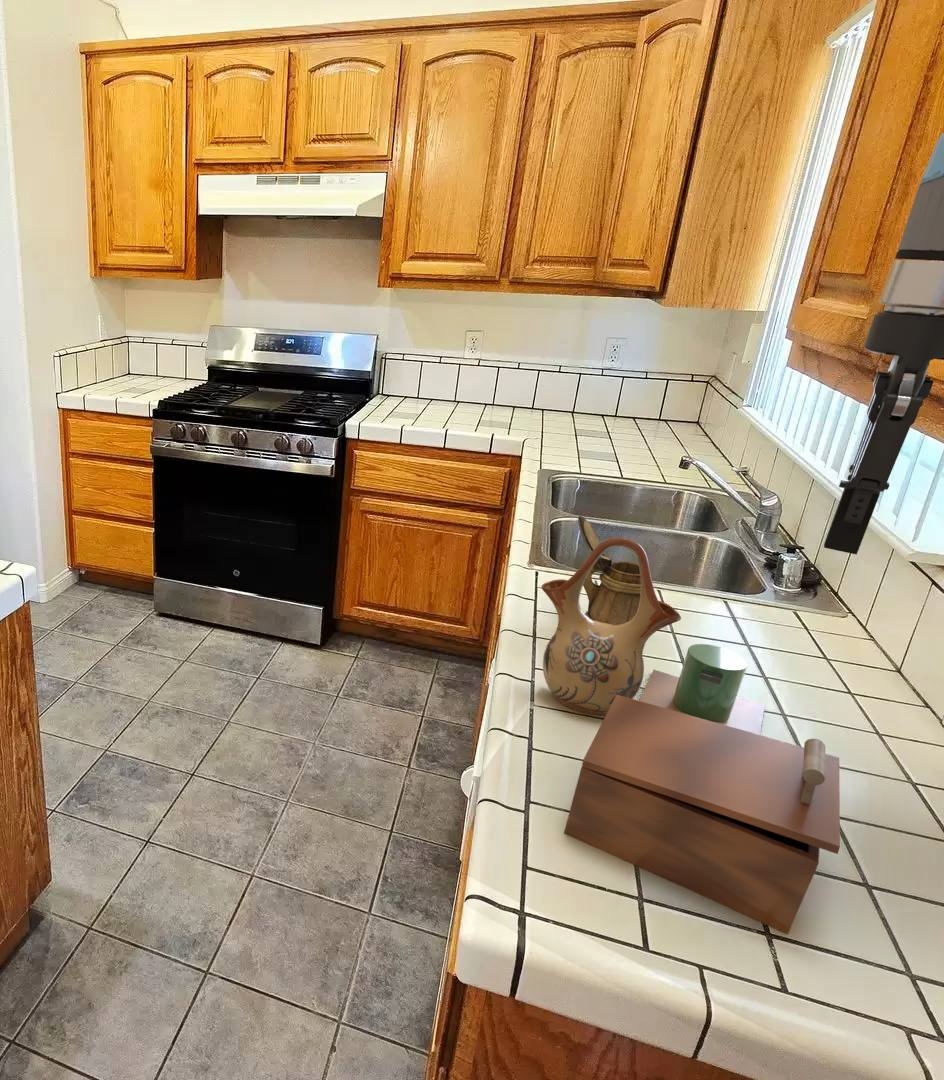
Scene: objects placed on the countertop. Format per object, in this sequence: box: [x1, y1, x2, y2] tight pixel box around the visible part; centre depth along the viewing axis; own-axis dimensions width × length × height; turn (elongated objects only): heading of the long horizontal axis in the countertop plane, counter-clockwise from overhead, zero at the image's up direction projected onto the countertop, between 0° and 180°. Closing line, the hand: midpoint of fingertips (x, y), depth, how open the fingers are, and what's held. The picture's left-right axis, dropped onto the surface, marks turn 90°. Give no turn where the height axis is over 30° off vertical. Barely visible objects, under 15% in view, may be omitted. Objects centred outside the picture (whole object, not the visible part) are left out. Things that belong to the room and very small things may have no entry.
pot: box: [673, 643, 748, 722], centre depth 102 cm, size 7×10×8 cm
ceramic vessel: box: [540, 537, 682, 716], centre depth 98 cm, size 16×9×25 cm, turn 61°
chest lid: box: [581, 695, 841, 855], centre depth 75 cm, size 20×16×5 cm
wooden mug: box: [577, 515, 641, 625], centre depth 123 cm, size 9×14×18 cm, turn 55°
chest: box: [563, 766, 820, 935], centre depth 78 cm, size 20×16×9 cm
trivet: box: [639, 669, 766, 736], centre depth 103 cm, size 14×14×1 cm
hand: (840, 548), depth 78 cm, fingers closed
